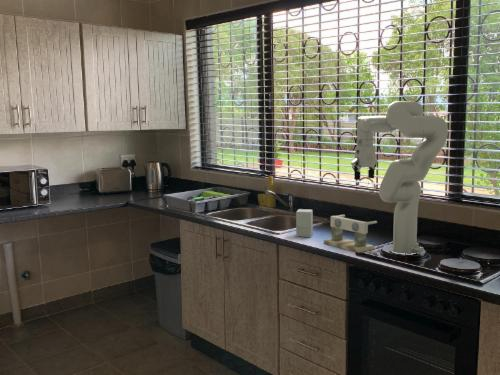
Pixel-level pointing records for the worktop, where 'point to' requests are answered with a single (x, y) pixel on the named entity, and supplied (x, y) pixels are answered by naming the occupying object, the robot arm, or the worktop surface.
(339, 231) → the display stand
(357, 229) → the glasses
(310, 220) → the supplement box
